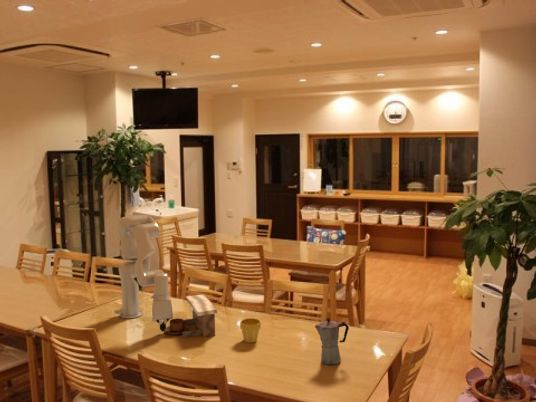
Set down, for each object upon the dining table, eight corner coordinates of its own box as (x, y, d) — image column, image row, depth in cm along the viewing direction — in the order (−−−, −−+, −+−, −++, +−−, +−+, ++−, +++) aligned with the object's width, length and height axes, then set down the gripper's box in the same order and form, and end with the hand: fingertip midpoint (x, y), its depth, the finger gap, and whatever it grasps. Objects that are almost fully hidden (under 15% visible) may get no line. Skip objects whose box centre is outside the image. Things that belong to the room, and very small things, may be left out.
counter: (184, 340, 254) (183, 314, 252) (174, 322, 280) (173, 298, 278) (217, 335, 260) (216, 309, 258) (204, 318, 286) (203, 294, 284)
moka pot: (313, 357, 233) (312, 315, 230) (345, 355, 234) (345, 314, 232) (316, 366, 223) (316, 323, 221) (350, 364, 224) (351, 321, 222)
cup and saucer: (179, 326, 275) (178, 315, 274) (193, 331, 266) (192, 320, 266) (160, 332, 266) (160, 321, 265) (174, 338, 258) (174, 326, 257)
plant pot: (263, 337, 257) (263, 319, 256) (256, 345, 247) (256, 326, 246) (245, 335, 260) (244, 316, 259) (237, 342, 250) (236, 323, 249)
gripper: (147, 300, 255) (149, 335, 257) (177, 297, 260) (178, 331, 262) (145, 296, 262) (147, 330, 264) (174, 293, 267) (176, 326, 269)
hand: (163, 330), depth 263 cm, fingers closed
